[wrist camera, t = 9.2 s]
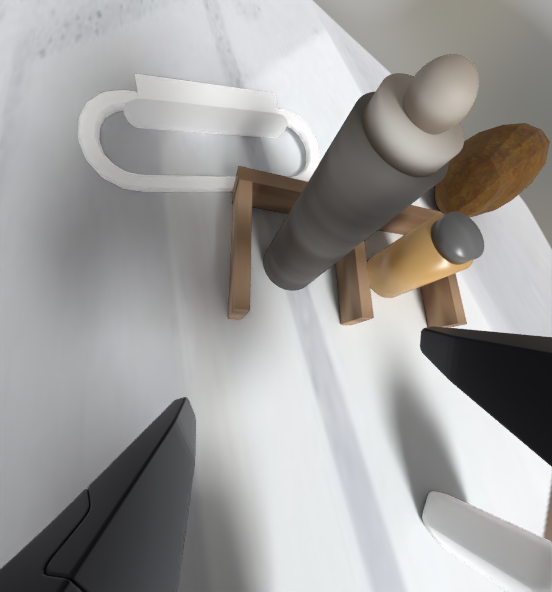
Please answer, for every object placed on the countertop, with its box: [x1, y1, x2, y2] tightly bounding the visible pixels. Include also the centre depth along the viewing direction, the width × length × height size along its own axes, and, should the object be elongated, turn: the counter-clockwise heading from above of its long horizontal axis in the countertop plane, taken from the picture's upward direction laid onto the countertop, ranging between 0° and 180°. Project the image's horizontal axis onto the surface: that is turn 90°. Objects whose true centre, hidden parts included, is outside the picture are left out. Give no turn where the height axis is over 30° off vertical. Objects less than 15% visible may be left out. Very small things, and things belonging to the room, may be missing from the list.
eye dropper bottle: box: [422, 491, 552, 592], centre depth 15 cm, size 4×6×12 cm
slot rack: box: [228, 166, 467, 328], centre depth 23 cm, size 11×20×3 cm, turn 90°
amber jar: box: [367, 212, 484, 298], centre depth 21 cm, size 4×4×8 cm
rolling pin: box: [78, 74, 320, 192], centre depth 22 cm, size 20×8×4 cm, turn 104°
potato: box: [435, 123, 550, 217], centre depth 28 cm, size 8×12×9 cm
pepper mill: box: [263, 54, 479, 290], centre depth 15 cm, size 5×5×16 cm
